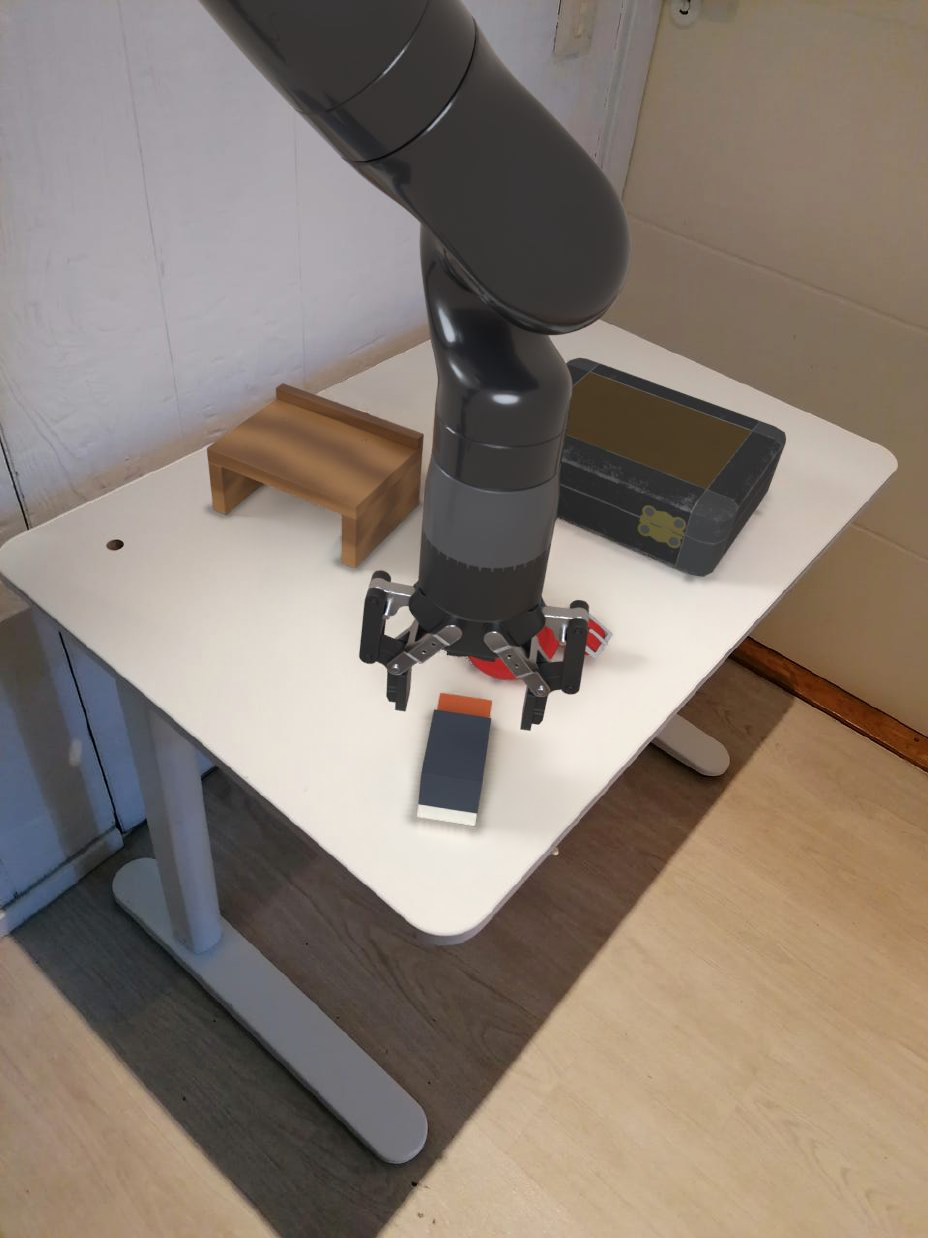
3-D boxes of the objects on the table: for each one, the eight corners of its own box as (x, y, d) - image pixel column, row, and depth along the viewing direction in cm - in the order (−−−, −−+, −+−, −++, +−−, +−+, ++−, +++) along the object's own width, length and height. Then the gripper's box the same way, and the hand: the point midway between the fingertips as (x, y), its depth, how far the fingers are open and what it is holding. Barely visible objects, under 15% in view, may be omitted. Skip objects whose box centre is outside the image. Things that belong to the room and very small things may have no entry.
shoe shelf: (355, 568, 89) (356, 495, 83) (212, 509, 93) (205, 436, 88) (419, 504, 97) (424, 433, 91) (285, 453, 101) (282, 382, 96)
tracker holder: (485, 688, 77) (441, 589, 82) (486, 711, 81) (444, 615, 86) (623, 637, 79) (572, 543, 84) (617, 661, 83) (569, 570, 88)
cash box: (772, 488, 105) (795, 426, 100) (705, 585, 91) (728, 519, 86) (567, 409, 113) (578, 348, 108) (478, 488, 100) (486, 423, 94)
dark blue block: (475, 826, 69) (482, 783, 66) (416, 817, 69) (421, 773, 66) (489, 727, 76) (496, 683, 73) (436, 718, 76) (441, 674, 73)
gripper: (351, 543, 53) (350, 737, 64) (611, 581, 52) (565, 770, 63) (377, 467, 58) (372, 658, 69) (613, 501, 58) (570, 688, 69)
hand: (464, 711), depth 66 cm, fingers open, 8 cm apart
